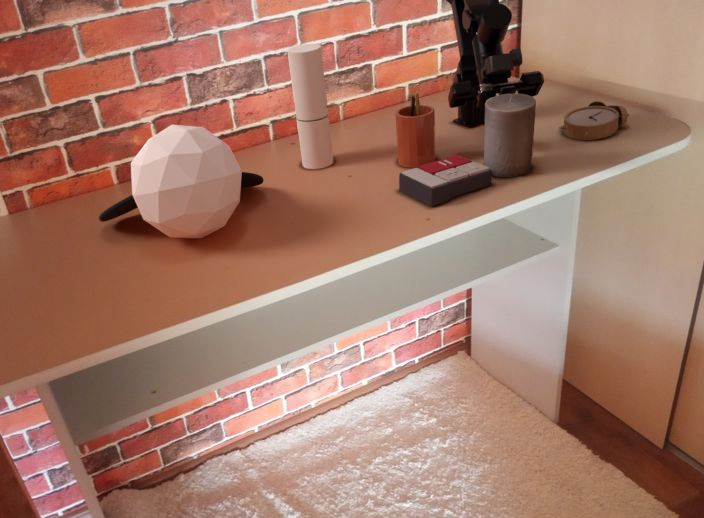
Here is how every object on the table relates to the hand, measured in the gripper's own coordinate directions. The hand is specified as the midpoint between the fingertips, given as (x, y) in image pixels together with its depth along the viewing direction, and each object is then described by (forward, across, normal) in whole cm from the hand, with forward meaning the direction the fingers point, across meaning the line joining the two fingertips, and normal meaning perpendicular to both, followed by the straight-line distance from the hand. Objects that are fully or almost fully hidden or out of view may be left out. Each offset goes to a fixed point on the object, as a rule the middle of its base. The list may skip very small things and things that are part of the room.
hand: (501, 127), depth 145 cm
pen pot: (0, -17, +10) cm, 19 cm away
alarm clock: (-2, +24, +13) cm, 27 cm away
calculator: (+12, -14, -2) cm, 18 cm away
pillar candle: (+8, 0, +2) cm, 9 cm away
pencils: (0, -17, +9) cm, 19 cm away
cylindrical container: (-4, -38, +15) cm, 41 cm away
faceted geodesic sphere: (+13, -65, -3) cm, 66 cm away
